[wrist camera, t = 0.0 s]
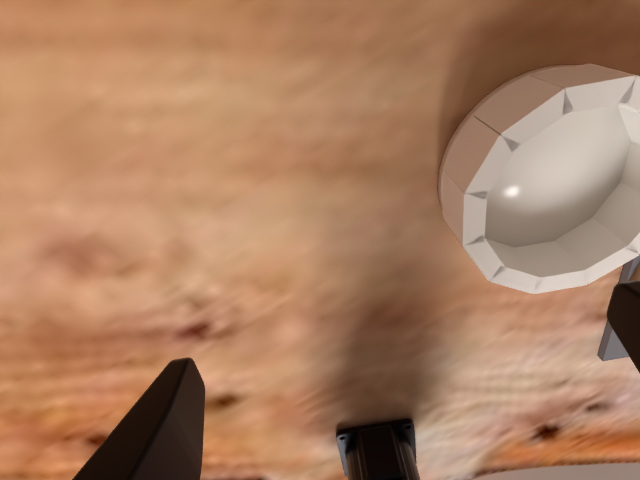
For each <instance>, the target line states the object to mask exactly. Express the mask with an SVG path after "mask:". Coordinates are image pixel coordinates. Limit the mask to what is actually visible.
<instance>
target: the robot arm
mask: <svg viewBox="0 0 640 480" xmlns="http://www.w3.org/2000/svg"><path fill="white" fill-rule="evenodd" d="M607 318H608V322H609V324H610V326H611V327H612V329H613V331H614V332H615V334H616V335H617V337H618V339H619V340H620V342H621V343H622V345H623V347H624V348H625V350H626V352H627V353H628V355H629V356H630V358H631V360H632V361H633V363H634V365H635V366H636V368H637V369H638V371H639V373H640V281H638V280H634V281H628V282H623V283H619V284H617V285H616V286H615V287H614V289H613V292H612V296H611V299H610V303H609V306H608V310H607ZM204 407H205V386H204V382H203V380H202V378H201V375H200V373H199V371H198V369H197V367H196V365H195V363H194V361H193V359H192V358H188V357H187V358H181V359H176V360H172V361H171V362H170V363H169V364H168V365H167V366H166V367H165V368H164V370H163V371H162V372H161V373H160V374H159V376H158V377H157V378H156V379H155V380H154V382H153V383H152V384H151V385H150V386H149V388H148V389H147V390H146V391H145V392H144V394H143V395H142V396H141V397H140V399H139V400H138V401H137V402H136V403H135V405H134V406H133V407H132V408H131V409H130V411H129V412H128V413H127V414H126V415H125V417H124V418H123V419H122V420H121V421H120V423H119V424H118V425H117V426H116V427H115V429H114V430H113V431H112V432H111V433H110V435H109V436H108V437H107V438H106V439H105V441H104V442H103V443H102V444H101V445H100V447H99V448H98V449H97V450H96V451H95V453H94V454H93V455H92V456H91V458H90V459H89V460H88V461H87V462H86V464H85V465H84V466H83V467H82V468H81V470H80V471H79V472H78V473H77V474H76V476H75V477H74V478H73V479H72V480H200V474H201V466H202V453H203V430H204ZM336 439H337V443H338V448H339V452H340V456H341V461H342V465H343V469H344V474H345V476H347V477H348V480H420V477H419V473H418V470H417V466H416V449H415V431H414V424H413V421H412V420H410V419H406V420H400V421H394V422H388V423H382V424H376V425H370V426H364V427H359V428H353V429H347V430H341V431H338V432H337V433H336Z"/></svg>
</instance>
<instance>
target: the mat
mask: <svg viewBox="0 0 640 480" xmlns="http://www.w3.org/2000/svg"><path fill="white" fill-rule="evenodd" d="M639 262H640V254H639V256H637V257H636V258H634V259H632V260H630V261H628V262H627V263H625V264H624V267H623V270H622V273H621V277H620V280H619V283H623V282H628V280H629V278H630V276H631V275H632V273H633V271H634V270H635V268H636V267H637V265H638V264H639ZM598 356H599V357H600V359H601V360H602V361H607V360H613V359H618V358H624V357H630V356H629V355H628V353H627V352H626V350H625V348H624V347H623V345H622V343H621V342H620V340H619V339H618V337H617V335H616V334H615V332H614V331H613V329H612V327H611V326H610V324H609V322H608V321H607V325H606V328H605V332H604V335H603V338H602V342H601V345H600V349H599V352H598Z"/></svg>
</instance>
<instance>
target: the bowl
mask: <svg viewBox="0 0 640 480" xmlns="http://www.w3.org/2000/svg"><path fill="white" fill-rule="evenodd" d="M438 195H439V201H440V205H441V209H442V211H443V219H444V220H445V222H446V223H447V225H448V226H449V228H450V229H451V230H452V232H453V233H454V235H455V236H456V238H457V239H458V241H459V242H460V244H461V245H462V246H463V248H464V249H465V250H466V252H467V253H468V254H469V256H470V257H471V258H472V260H473V261H474V262H475V264H476V265H477V266H478V268H479V269H480V270H481V272H482V273H483V274H484V276H485V277H486V278H487V280H488V281H489V282H493V283H496V284H500V285H503V286H506V287H510V288H513V289H517V290H520V291H524V292H527V293H531V294H538V293H543V292H549V291H555V290H561V289H566V288H572V287H578V286H584V285H586V284H587V285H588V284H589V283H591V282H593V281H595V280H596V279H598V278H600V277H602V276H604V275H605V274H607V273H609V272H611V271H612V270H614V269H616V268H618V267H620V266H621V265H623V264H625V263H627V262H628V261H630V260H632V259H634V258H636V257H637V256H639V254H640V76H638V75H634V74H630V73H626V72H623V71H619V70H615V69H611V68H607V67H603V66H600V65H596V64H592V63H588V64H583V65H554V66H547V67H543V68H539V69H535V70H531V71H529V72H526V73H524V74H521V75H518V76H517V77H515V78H513V79H511V80H509V81H507V82H505V83H503V84H502V85H500V86H499V87H497V88H496V89H494V90H493V91H491V92H490V93H489V94H488V95H487V96H485V97H484V98H483V99H482V100H481V101H479V102H478V104H477V105H476V106H475V107H474V108H473V109H472V110H471V111H470V112H469V113H468V114H467V115H466V117H465V118H464V119H463V120H462V122H461V123H460V124H459V126H458V127H457V129H456V131H455V132H454V134H453V135H452V137H451V139H450V141H449V143H448V145H447V147H446V149H445V152H444V155H443V158H442V161H441V165H440V170H439V176H438Z"/></svg>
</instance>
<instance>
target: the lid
mask: <svg viewBox="0 0 640 480" xmlns="http://www.w3.org/2000/svg"><path fill="white" fill-rule="evenodd" d="M634 280H638V281H640V262H639V264H638V265H637V267H636V268H635V270H634V271H633V273H632V275H631V276H630V278H629V280H628V281H634Z"/></svg>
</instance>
